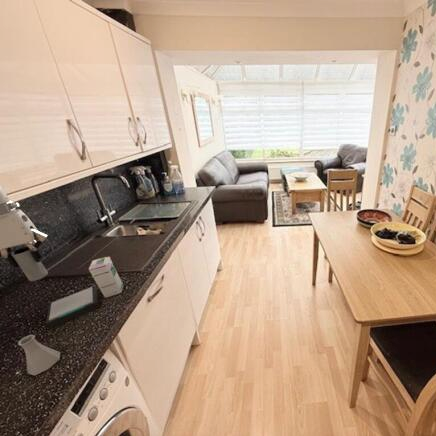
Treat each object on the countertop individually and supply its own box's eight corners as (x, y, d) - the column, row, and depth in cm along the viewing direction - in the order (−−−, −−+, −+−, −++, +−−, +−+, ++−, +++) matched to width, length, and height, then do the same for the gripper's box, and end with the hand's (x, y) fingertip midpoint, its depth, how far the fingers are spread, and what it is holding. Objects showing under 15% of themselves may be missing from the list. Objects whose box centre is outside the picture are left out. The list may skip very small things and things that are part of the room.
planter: (30, 276, 78) (12, 250, 74) (48, 270, 81) (32, 244, 76) (28, 283, 75) (9, 256, 71) (47, 276, 77) (30, 250, 73)
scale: (49, 328, 80) (44, 322, 79) (52, 308, 89) (48, 302, 87) (99, 306, 88) (96, 300, 87) (97, 290, 96) (94, 284, 95)
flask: (24, 367, 68) (4, 343, 64) (57, 347, 73) (40, 324, 69) (31, 381, 64) (10, 357, 60) (64, 358, 70) (47, 335, 65)
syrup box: (122, 292, 94) (107, 262, 88) (104, 298, 92) (87, 268, 86) (123, 284, 99) (109, 255, 93) (106, 289, 96) (91, 260, 90)
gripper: (38, 199, 74) (66, 249, 82) (-39, 213, 67) (0, 265, 75) (28, 207, 68) (59, 260, 76) (-59, 223, 61) (-14, 278, 69)
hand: (29, 262), depth 75 cm, fingers closed on planter, 4 cm apart
